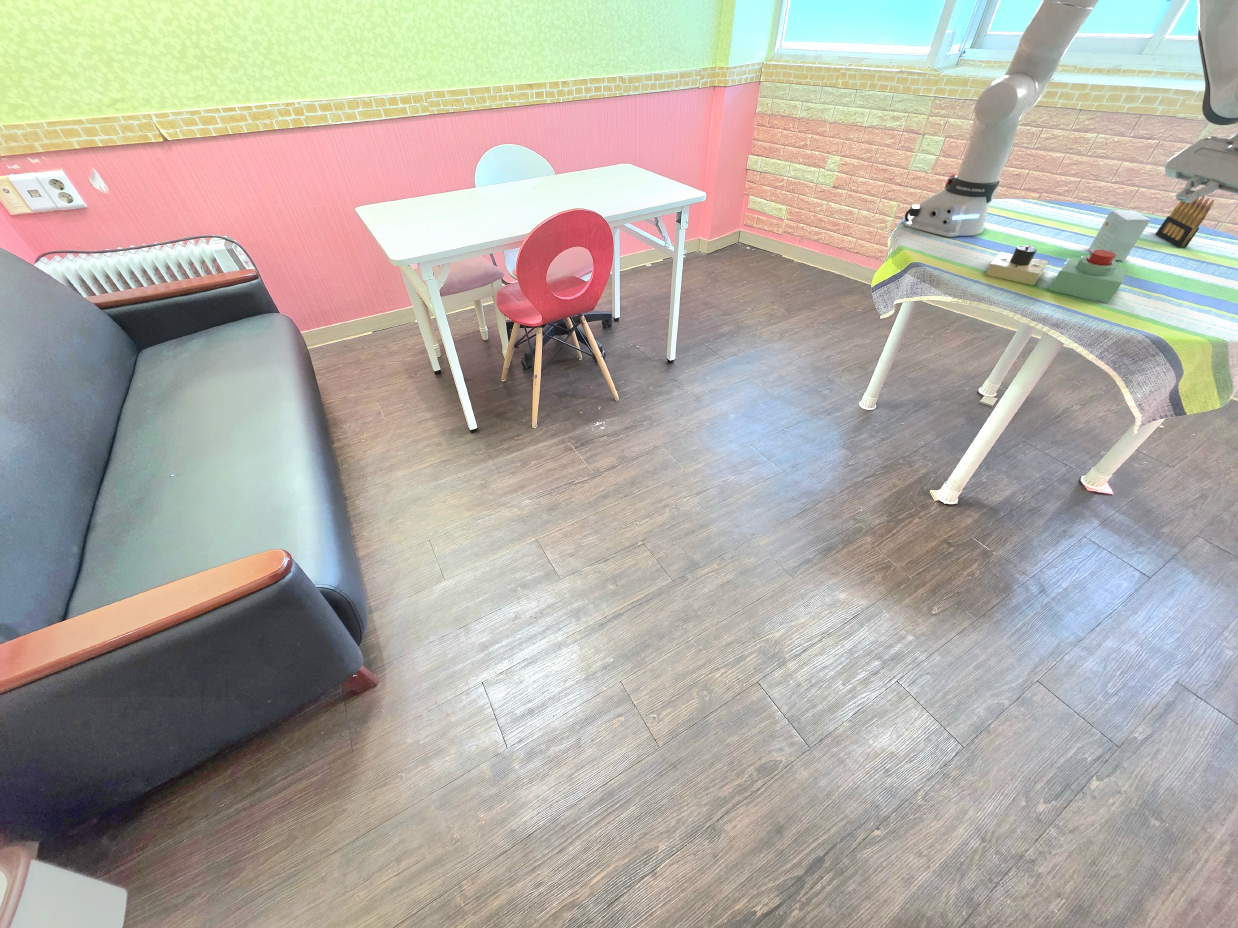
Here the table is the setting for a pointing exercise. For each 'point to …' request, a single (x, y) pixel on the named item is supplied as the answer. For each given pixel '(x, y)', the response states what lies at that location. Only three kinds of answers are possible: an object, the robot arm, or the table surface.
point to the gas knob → (1023, 255)
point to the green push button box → (1089, 279)
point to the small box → (1120, 233)
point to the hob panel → (1016, 269)
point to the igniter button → (1101, 257)
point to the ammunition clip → (1184, 222)
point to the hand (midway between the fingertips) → (1182, 199)
